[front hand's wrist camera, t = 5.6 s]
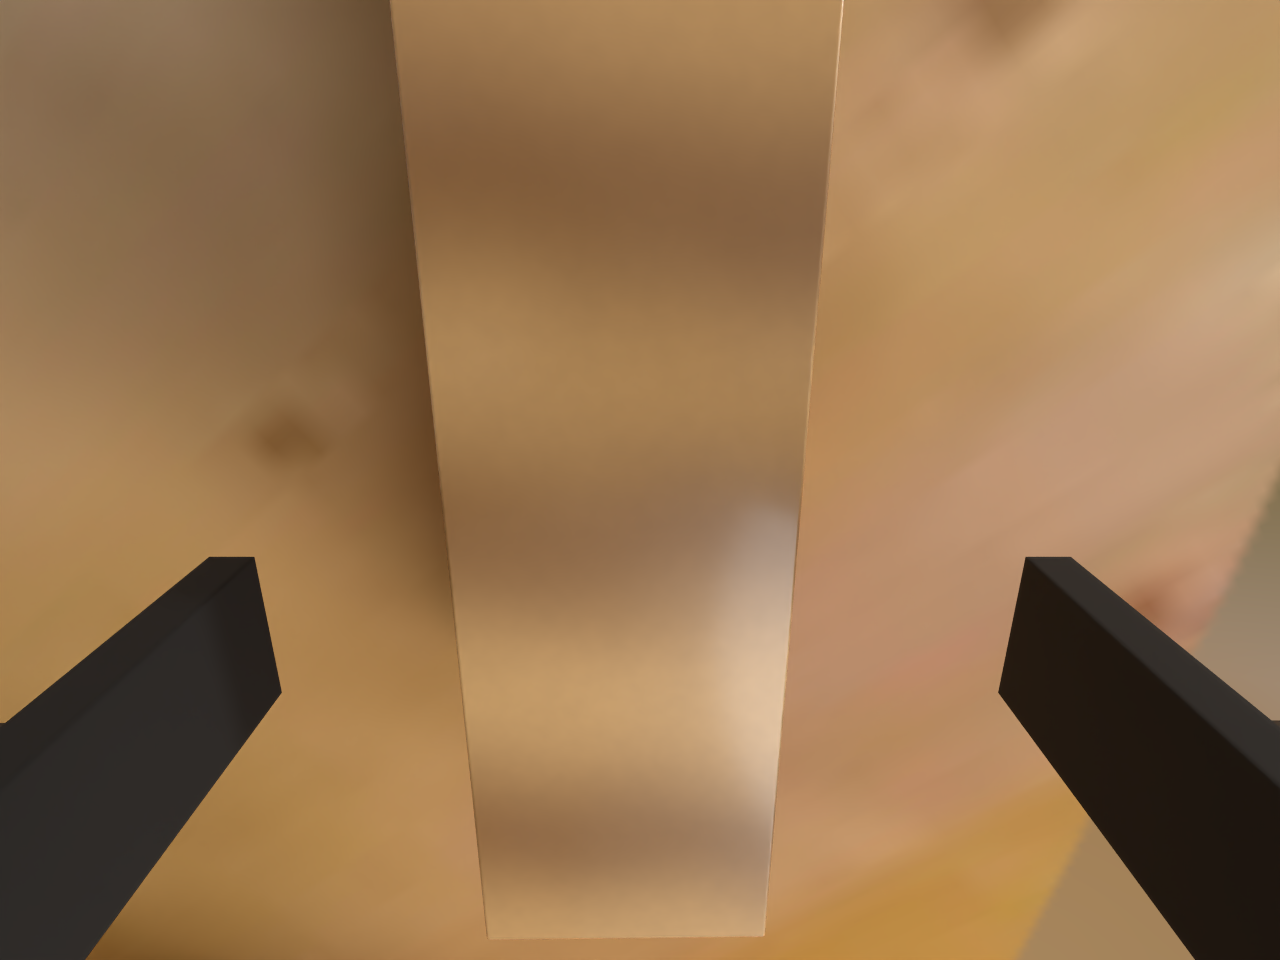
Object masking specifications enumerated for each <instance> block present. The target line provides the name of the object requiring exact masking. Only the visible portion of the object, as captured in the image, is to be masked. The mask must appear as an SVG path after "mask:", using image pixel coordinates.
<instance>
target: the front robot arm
mask: <svg viewBox="0 0 1280 960" xmlns="http://www.w3.org/2000/svg"><path fill="white" fill-rule="evenodd" d="M281 693H282V691H281V687H280V682H279V677H278V672H277V667H276V662H275V657H274V652H273V647H272V642H271V637H270V632H269V627H268V622H267V617H266V612H265V607H264V602H263V598H262V593H261V588H260V583H259V578H258V573H257V568H256V563H255V558H254V557H209V558H207V559H206V560H205V561H204V562H202V563H201V564H200V565H199V566H198V567H196V568H195V569H194V570H193V571H191V572H190V573H189V574H188V575H187V576H185V577H184V578H183V579H182V580H180V581H179V582H178V583H177V584H175V585H174V586H173V587H172V588H171V589H169V590H168V591H167V592H166V593H164V594H163V595H162V596H161V597H159V598H158V599H157V600H156V601H155V602H153V603H152V604H151V605H150V606H148V607H147V608H146V609H145V610H144V611H142V612H141V613H140V614H139V615H137V616H136V617H135V618H134V619H132V620H131V621H130V622H129V623H128V624H126V625H125V626H124V627H123V628H121V629H120V630H119V631H118V632H117V633H115V634H114V635H113V636H112V637H110V638H109V639H108V640H107V641H105V642H104V643H103V644H102V645H101V646H99V647H98V648H97V649H96V650H94V651H93V652H92V653H91V654H90V655H88V656H87V657H86V658H85V659H83V660H82V661H81V662H80V663H78V664H77V665H76V666H75V667H74V668H72V669H71V670H70V671H69V672H67V673H66V674H65V675H64V676H63V677H61V678H60V679H59V680H58V681H56V682H55V683H54V684H53V685H51V686H50V687H49V688H48V689H47V690H45V691H44V692H43V693H42V694H40V695H39V696H38V697H37V698H36V699H34V700H33V701H32V702H31V703H29V704H28V705H27V706H26V707H24V708H23V709H22V710H21V711H20V712H18V713H17V714H16V715H15V716H13V717H12V718H11V719H10V720H9V721H7V722H6V723H0V960H85V959H86V958H87V956H88V955H89V954H90V952H91V951H92V950H93V948H94V947H95V945H96V944H97V943H98V941H99V940H100V939H101V937H102V936H103V935H104V933H105V932H106V931H107V929H108V928H109V926H110V925H111V924H112V922H113V921H114V920H115V918H116V917H117V916H118V914H119V913H120V911H121V910H122V909H123V907H124V906H125V905H126V903H127V902H128V901H129V899H130V898H131V897H132V895H133V894H134V892H135V891H136V890H137V888H138V887H139V886H140V884H141V883H142V882H143V880H144V879H145V878H146V876H147V875H148V873H149V872H150V871H151V869H152V868H153V867H154V865H155V864H156V863H157V861H158V860H159V859H160V857H161V856H162V854H163V853H164V852H165V850H166V849H167V848H168V846H169V845H170V844H171V842H172V841H173V840H174V838H175V837H176V835H177V834H178V833H179V831H180V830H181V829H182V827H183V826H184V825H185V823H186V822H187V821H188V819H189V818H190V816H191V815H192V814H193V812H194V811H195V810H196V808H197V807H198V806H199V804H200V803H201V802H202V800H203V799H204V797H205V796H206V795H207V793H208V792H209V791H210V789H211V788H212V787H213V785H214V784H215V782H216V781H217V780H218V778H219V777H220V776H221V774H222V773H223V772H224V770H225V769H226V768H227V766H228V765H229V763H230V762H231V761H232V759H233V758H234V757H235V755H236V754H237V753H238V751H239V750H240V749H241V747H242V746H243V744H244V743H245V742H246V740H247V739H248V738H249V736H250V735H251V734H252V732H253V731H254V730H255V728H256V727H257V725H258V724H259V723H260V721H261V720H262V719H263V717H264V716H265V715H266V713H267V712H268V711H269V709H270V708H271V706H272V705H273V704H274V702H275V701H276V700H277V698H278V697H279V696H280V694H281ZM998 693H999V694H1000V696H1001V697H1002V698H1003V700H1004V701H1005V702H1006V704H1007V705H1008V706H1009V708H1010V709H1011V711H1012V712H1013V713H1014V715H1015V716H1016V717H1017V719H1018V720H1019V721H1020V723H1021V724H1022V725H1023V727H1024V728H1025V730H1026V731H1027V732H1028V734H1029V735H1030V736H1031V738H1032V739H1033V740H1034V742H1035V743H1036V744H1037V746H1038V747H1039V749H1040V750H1041V751H1042V753H1043V754H1044V755H1045V757H1046V758H1047V759H1048V761H1049V762H1050V763H1051V765H1052V766H1053V768H1054V769H1055V770H1056V772H1057V773H1058V774H1059V776H1060V777H1061V778H1062V780H1063V781H1064V782H1065V784H1066V785H1067V787H1068V788H1069V789H1070V791H1071V792H1072V793H1073V795H1074V796H1075V797H1076V799H1077V800H1078V802H1079V803H1080V804H1081V806H1082V807H1083V808H1084V810H1085V811H1086V812H1087V814H1088V815H1089V816H1090V818H1091V819H1092V821H1093V822H1094V823H1095V825H1096V826H1097V827H1098V829H1099V830H1100V831H1101V833H1102V834H1103V835H1104V837H1105V838H1106V840H1107V841H1108V842H1109V844H1110V845H1111V846H1112V848H1113V849H1114V850H1115V852H1116V853H1117V854H1118V856H1119V857H1120V858H1121V860H1122V861H1123V863H1124V864H1125V865H1126V867H1127V868H1128V869H1129V871H1130V872H1131V873H1132V875H1133V876H1134V878H1135V879H1136V880H1137V882H1138V883H1139V884H1140V886H1141V887H1142V888H1143V890H1144V891H1145V892H1146V894H1147V895H1148V897H1149V898H1150V899H1151V901H1152V902H1153V903H1154V905H1155V906H1156V907H1157V909H1158V910H1159V911H1160V913H1161V914H1162V916H1163V917H1164V918H1165V920H1166V921H1167V922H1168V924H1169V925H1170V926H1171V928H1172V929H1173V931H1174V932H1175V933H1176V935H1177V936H1178V937H1179V939H1180V940H1181V941H1182V943H1183V944H1184V945H1185V947H1186V948H1187V950H1188V951H1189V952H1190V954H1191V955H1192V956H1193V958H1194V959H1195V960H1280V721H1271V720H1270V719H1269V718H1268V717H1267V716H1265V715H1264V714H1263V713H1262V712H1260V711H1259V710H1258V709H1257V708H1256V707H1254V706H1253V705H1252V704H1251V703H1249V702H1248V701H1247V700H1246V699H1244V698H1243V697H1242V696H1241V695H1240V694H1238V693H1237V692H1236V691H1235V690H1233V689H1232V688H1231V687H1230V686H1229V685H1227V684H1226V683H1225V682H1224V681H1222V680H1221V679H1220V678H1219V677H1217V676H1216V675H1215V674H1214V673H1213V672H1211V671H1210V670H1209V669H1208V668H1206V667H1205V666H1204V665H1203V664H1202V663H1200V662H1199V661H1198V660H1197V659H1195V658H1194V657H1193V656H1192V655H1190V654H1189V653H1188V652H1187V651H1186V650H1184V649H1183V648H1182V647H1181V646H1179V645H1178V644H1177V643H1176V642H1175V641H1173V640H1172V639H1171V638H1170V637H1168V636H1167V635H1166V634H1165V633H1163V632H1162V631H1161V630H1160V629H1159V628H1157V627H1156V626H1155V625H1154V624H1152V623H1151V622H1150V621H1149V620H1148V619H1146V618H1145V617H1144V616H1143V615H1141V614H1140V613H1139V612H1138V611H1136V610H1135V609H1134V608H1133V607H1132V606H1130V605H1129V604H1128V603H1127V602H1125V601H1124V600H1123V599H1122V598H1121V597H1119V596H1118V595H1117V594H1116V593H1114V592H1113V591H1112V590H1111V589H1109V588H1108V587H1107V586H1106V585H1105V584H1103V583H1102V582H1101V581H1100V580H1098V579H1097V578H1096V577H1095V576H1093V575H1092V574H1091V573H1090V572H1089V571H1087V570H1086V569H1085V568H1084V567H1082V566H1081V565H1080V564H1079V563H1078V562H1076V561H1075V560H1074V559H1073V558H1071V557H1026V558H1025V563H1024V568H1023V573H1022V578H1021V583H1020V588H1019V593H1018V598H1017V602H1016V607H1015V612H1014V617H1013V622H1012V627H1011V632H1010V637H1009V642H1008V647H1007V652H1006V657H1005V662H1004V667H1003V672H1002V677H1001V682H1000V687H999V691H998Z"/></svg>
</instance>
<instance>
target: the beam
mask: <svg viewBox="0 0 1280 960" xmlns="http://www.w3.org/2000/svg"><path fill="white" fill-rule="evenodd" d="M389 1H390V11H391V21H392V30H393V40H394V49H395V59H396V69H397V78H398V88H399V97H400V107H401V117H402V126H403V136H404V145H405V155H406V165H407V174H408V184H409V193H410V203H411V213H412V222H413V232H414V241H415V251H416V261H417V270H418V280H419V289H420V299H421V309H422V318H423V328H424V337H425V347H426V357H427V366H428V376H429V385H430V395H431V405H432V414H433V424H434V433H435V443H436V453H437V462H438V472H439V481H440V491H441V501H442V510H443V520H444V529H445V539H446V549H447V558H448V568H449V577H450V587H451V597H452V606H453V616H454V625H455V635H456V645H457V654H458V664H459V673H460V683H461V693H462V702H463V712H464V721H465V731H466V741H467V750H468V760H469V769H470V779H471V789H472V798H473V808H474V817H475V827H476V837H477V846H478V856H479V865H480V875H481V885H482V894H483V904H484V913H485V923H486V933H487V939H489V940H515V939H604V938H693V937H763V936H764V935H765V926H766V914H767V903H768V891H769V879H770V867H771V855H772V844H773V832H774V820H775V808H776V797H777V785H778V773H779V761H780V750H781V738H782V726H783V714H784V702H785V691H786V679H787V667H788V655H789V644H790V632H791V620H792V608H793V597H794V585H795V573H796V561H797V549H798V538H799V526H800V514H801V502H802V491H803V479H804V467H805V455H806V444H807V432H808V420H809V408H810V396H811V385H812V373H813V361H814V349H815V338H816V326H817V314H818V302H819V290H820V279H821V267H822V255H823V243H824V232H825V220H826V208H827V196H828V185H829V173H830V161H831V149H832V137H833V126H834V114H835V102H836V90H837V79H838V67H839V55H840V43H841V32H842V20H843V8H844V0H389Z"/></svg>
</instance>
